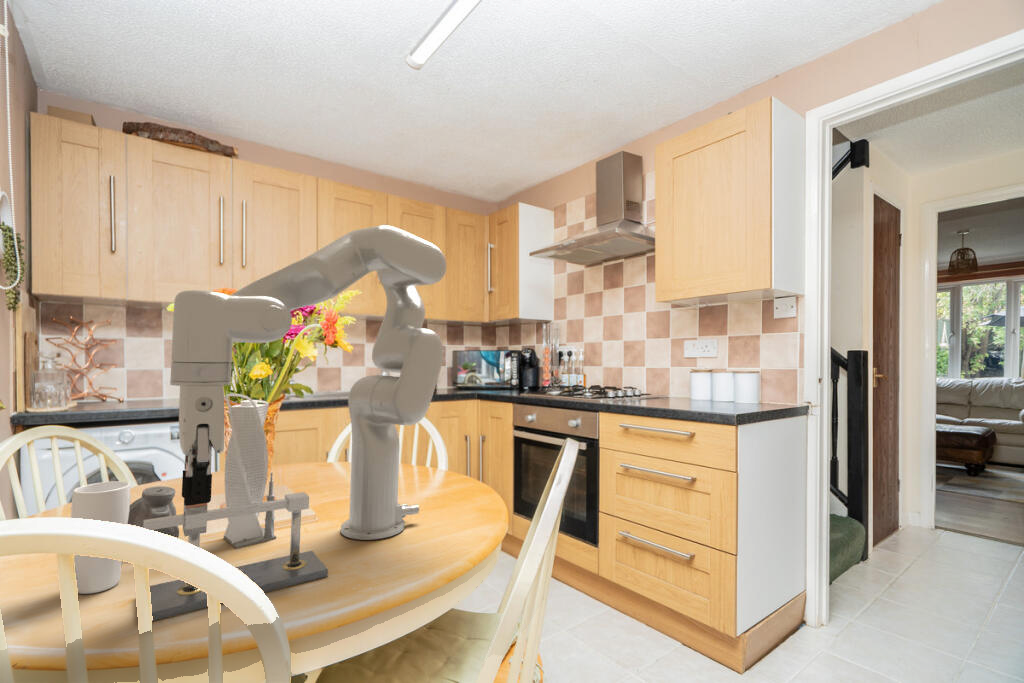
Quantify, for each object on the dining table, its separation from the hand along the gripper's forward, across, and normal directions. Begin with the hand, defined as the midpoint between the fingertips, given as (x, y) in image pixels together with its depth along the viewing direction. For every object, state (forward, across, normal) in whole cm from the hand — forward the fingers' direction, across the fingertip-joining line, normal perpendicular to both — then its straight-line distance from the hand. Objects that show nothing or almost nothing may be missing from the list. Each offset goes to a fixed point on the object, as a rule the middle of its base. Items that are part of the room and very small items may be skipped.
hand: (196, 498), depth 70 cm
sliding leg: (+12, 0, 0) cm, 12 cm away
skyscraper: (+14, +20, -10) cm, 27 cm away
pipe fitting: (+15, +26, +4) cm, 31 cm away
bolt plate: (+14, 0, -6) cm, 15 cm away
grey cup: (+14, +12, +11) cm, 22 cm away
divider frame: (+13, 0, -5) cm, 14 cm away
